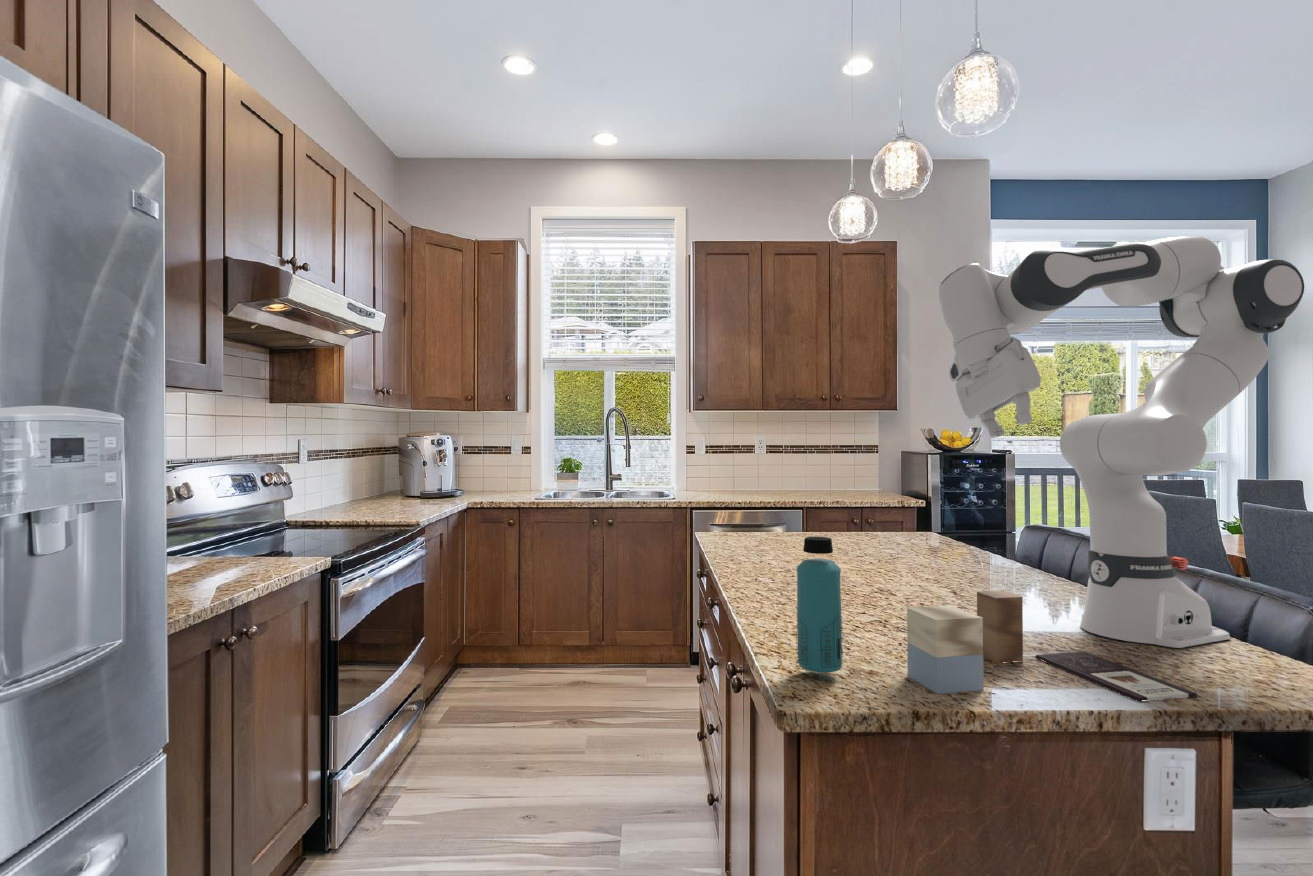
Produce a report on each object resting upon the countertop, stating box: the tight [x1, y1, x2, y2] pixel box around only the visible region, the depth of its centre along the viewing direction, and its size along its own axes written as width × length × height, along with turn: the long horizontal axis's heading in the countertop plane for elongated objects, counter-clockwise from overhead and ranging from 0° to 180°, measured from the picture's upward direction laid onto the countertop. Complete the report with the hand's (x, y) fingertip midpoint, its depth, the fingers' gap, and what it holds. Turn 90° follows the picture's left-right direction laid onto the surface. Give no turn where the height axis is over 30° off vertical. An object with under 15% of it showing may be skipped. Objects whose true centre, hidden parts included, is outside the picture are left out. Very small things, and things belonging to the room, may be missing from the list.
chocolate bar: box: [1035, 651, 1198, 702], centre depth 95 cm, size 9×1×18 cm
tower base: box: [907, 642, 985, 695], centre depth 93 cm, size 7×7×5 cm
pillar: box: [976, 590, 1024, 665], centre depth 103 cm, size 4×4×10 cm
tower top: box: [906, 605, 983, 658], centre depth 93 cm, size 7×7×5 cm
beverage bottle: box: [795, 536, 844, 674], centre depth 96 cm, size 6×7×20 cm
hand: (1011, 430), depth 112 cm, fingers open, 8 cm apart
